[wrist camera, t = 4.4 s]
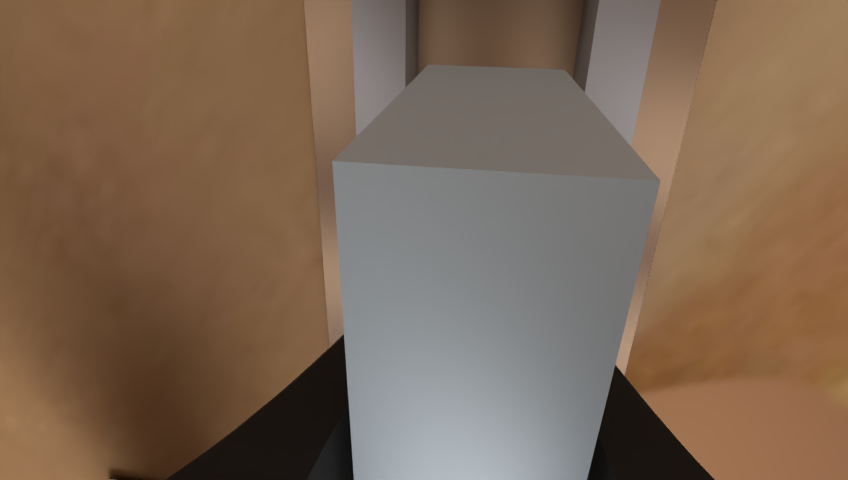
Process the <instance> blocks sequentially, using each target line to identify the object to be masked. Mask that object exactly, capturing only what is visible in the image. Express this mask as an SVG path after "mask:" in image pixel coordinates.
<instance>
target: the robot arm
mask: <svg viewBox="0 0 848 480" xmlns="http://www.w3.org/2000/svg"><path fill="white" fill-rule="evenodd" d="M109 480H115V479H109ZM166 480H354V474H353V459H352V445H351V430H350V415H349V401H348V386H347V371H346V356H345V342H344V334H343V335H342V336H341V337H340V338H339V339H338V340H337V341H336V342H335V343H334V344H333V345H332V346H331V347H330V348H329V349H328V350H327V351H326V352H324V353H323V354H322V355H321V356H320V357H319V358H318V359H317V360H316V361H315V362H314V363H313V364H312V365H310V366H309V367H308V368H307V369H306V370H305V371H304V372H303V373H302V374H300V375H299V376H298V377H297V378H296V379H295V380H294V381H293V382H292V383H290V384H289V385H288V386H287V387H286V388H285V389H284V390H283V391H281V392H280V393H279V394H278V395H277V396H276V397H274V398H273V399H272V400H271V401H269V402H268V403H267V404H266V405H265V406H263V407H262V408H261V409H260V410H258V411H257V412H256V413H255V414H253V415H252V416H251V417H250V418H249V419H247V420H246V421H245V422H244V423H242V424H241V425H240V426H239V427H237V428H236V429H235V430H234V431H232V432H231V433H230V434H229V435H227V436H226V437H225V438H223V439H222V440H221V441H219V442H218V443H217V444H215V445H214V446H213V447H211V448H210V449H209V450H207V451H206V452H205V453H203V454H202V455H200V456H199V457H198V458H196V459H195V460H194V461H192V462H191V463H189V464H188V465H186V466H185V467H184V468H182V469H181V470H179V471H178V472H176V473H175V474H173V475H172V476H171V477H169V478H168V479H166ZM587 480H714V479H713V478H712V477H711V475H709V473H708V472H707V471H706V470H705V469H704V468H703V467H702V466H701V465H700V464H699V463H698V462H697V461H696V460H695V459H694V458H693V456H692V455H691V454H690V453H689V452H688V451H687V450H686V449H685V448H684V446H683V445H682V444H681V443H680V442H679V441H678V440H677V438H676V437H675V436H674V435H673V434H672V432H671V431H670V430H669V429H668V428H667V427H666V425H665V424H664V423H663V422H662V421H661V420H660V418H659V417H658V416H657V415H656V414H655V413H654V412H653V410H652V409H651V408H650V407H649V406H648V404H647V403H646V402H645V401H644V399H643V398H642V397H641V396H640V395H639V393H638V392H637V391H636V390H635V388H634V387H633V386H632V385H631V383H630V382H629V381H628V380H627V378H626V377H625V376H624V375H623V373H622V372H621V371H620V370H619V368H618V367H617V366H616V365H615V368H614V372H613V376H612V380H611V384H610V388H609V392H608V397H607V401H606V405H605V409H604V413H603V417H602V421H601V425H600V429H599V433H598V437H597V441H596V445H595V449H594V453H593V457H592V461H591V466H590V470H589V474H588V478H587Z"/></svg>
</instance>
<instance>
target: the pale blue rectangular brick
mask: <svg viewBox="0 0 848 480" xmlns="http://www.w3.org/2000/svg"><path fill="white" fill-rule="evenodd" d="M332 166H333V180H334V195H335V210H336V224H337V239H338V254H339V268H340V283H341V298H342V312H343V327H344V342H345V356H346V371H347V386H348V401H349V415H350V430H351V445H352V459H353V474H354V480H587V478H588V474H589V470H590V466H591V461H592V457H593V453H594V449H595V445H596V441H597V437H598V433H599V429H600V425H601V421H602V417H603V413H604V409H605V405H606V401H607V397H608V392H609V388H610V384H611V380H612V376H613V372H614V368H615V364H616V360H617V356H618V352H619V348H620V344H621V340H622V336H623V332H624V328H625V324H626V319H627V315H628V311H629V307H630V303H631V299H632V295H633V291H634V287H635V283H636V279H637V275H638V271H639V267H640V263H641V259H642V255H643V250H644V246H645V242H646V238H647V234H648V230H649V226H650V222H651V218H652V214H653V210H654V206H655V202H656V198H657V194H658V190H659V186H660V180H659V178H658V177H657V176H656V175H655V174H654V173H653V171H652V170H651V169H650V168H649V167H648V166H647V165H646V163H645V162H644V161H643V160H642V159H641V158H640V156H639V155H638V154H637V153H636V152H635V151H634V149H633V148H632V147H631V146H630V145H629V144H628V142H627V141H626V140H625V139H624V138H623V137H622V135H621V134H620V133H619V132H618V131H617V130H616V128H615V127H614V126H613V125H612V124H611V123H610V122H609V120H608V119H607V118H606V117H605V116H604V115H603V113H602V112H601V111H600V110H599V109H598V108H597V106H596V105H595V104H594V103H593V102H592V101H591V99H590V98H589V97H588V96H587V95H586V94H585V92H584V91H583V90H582V89H581V88H580V87H579V85H578V84H577V83H576V82H575V81H574V80H573V79H572V77H571V76H570V75H569V74H568V73H567V72H566V70H560V69H533V68H506V67H479V66H451V65H428V66H427V67H426V68H425V69H424V70H423V71H422V72H421V73H420V74H419V75H418V76H417V77H416V78H415V79H414V80H413V81H412V82H411V83H410V84H409V85H408V86H407V87H406V88H405V89H404V90H403V91H402V92H401V93H400V94H399V95H398V96H397V97H396V98H395V99H394V100H393V101H392V102H391V103H390V104H389V105H388V106H387V107H386V108H385V109H384V110H383V111H382V112H381V113H380V114H379V115H378V116H377V117H376V118H375V119H374V120H373V121H372V122H371V123H370V124H369V125H368V126H367V127H366V128H365V129H364V130H363V131H362V132H361V133H360V134H359V135H358V136H357V137H356V138H355V139H354V140H353V141H352V142H351V143H350V144H349V145H348V146H347V147H346V148H345V149H344V150H343V151H342V152H341V153H340V154H339V155H338V156H337V157H336V158H335V159H334V160H333V161H332Z"/></svg>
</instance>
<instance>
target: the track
mask: <svg viewBox="0 0 848 480" xmlns="http://www.w3.org/2000/svg"><path fill="white" fill-rule="evenodd" d="M716 1H717V0H304V10H305V24H306V37H307V51H308V64H309V78H310V91H311V105H312V118H313V132H314V145H315V159H316V172H317V186H318V199H319V213H320V227H321V240H322V254H323V267H324V281H325V294H326V308H327V321H328V335H329V348H330V347H331V346H332V345H333V344H334V343H335V342H336V341H337V340H338V339H339V338H340V337H341V336H342V335H343V334H344V327H343V312H342V298H341V283H340V268H339V254H338V239H337V224H336V210H335V195H334V180H333V166H332V161H333V160H334V159H335V158H336V157H337V156H338V155H339V154H340V153H341V152H342V151H343V150H344V149H345V148H346V147H347V146H348V145H349V144H350V143H351V142H352V141H353V140H354V139H355V138H356V137H357V136H358V135H359V134H360V133H361V132H362V131H363V130H364V129H365V128H366V127H367V126H368V125H369V124H370V123H371V122H372V121H373V120H374V119H375V118H376V117H377V116H378V115H379V114H380V113H381V112H382V111H383V110H384V109H385V108H386V107H387V106H388V105H389V104H390V103H391V102H392V101H393V100H394V99H395V98H396V97H397V96H398V95H399V94H400V93H401V92H402V91H403V90H404V89H405V88H406V87H407V86H408V85H409V84H410V83H411V82H412V81H413V80H414V79H415V78H416V77H417V76H418V75H419V74H420V73H421V72H422V71H423V70H424V69H425V68H426V67H427V66H428V65H451V66H479V67H506V68H533V69H560V70H566V72H567V73H568V74H569V75H570V76H571V77H572V79H573V80H574V81H575V82H576V83H577V84H578V85H579V87H580V88H581V89H582V90H583V91H584V92H585V94H586V95H587V96H588V97H589V98H590V99H591V101H592V102H593V103H594V104H595V105H596V106H597V108H598V109H599V110H600V111H601V112H602V113H603V115H604V116H605V117H606V118H607V119H608V120H609V122H610V123H611V124H612V125H613V126H614V127H615V128H616V130H617V131H618V132H619V133H620V134H621V135H622V137H623V138H624V139H625V140H626V141H627V142H628V144H629V145H630V146H631V147H632V148H633V149H634V151H635V152H636V153H637V154H638V155H639V156H640V158H641V159H642V160H643V161H644V162H645V163H646V165H647V166H648V167H649V168H650V169H651V170H652V171H653V173H654V174H655V175H656V176H657V177H658V178H659V180H660V186H659V190H658V194H657V198H656V202H655V206H654V210H653V214H652V218H651V222H650V226H649V230H648V234H647V238H646V242H645V246H644V250H643V255H642V259H641V263H640V267H639V271H638V275H637V279H636V283H635V287H634V291H633V295H632V299H631V303H630V307H629V311H628V315H627V319H626V324H625V328H624V332H623V336H622V340H621V344H620V348H619V352H618V356H617V360H616V364H615V365H616V366H617V367H618V368H619V370H620V371H621V372H622V373H623V375H625V371H626V367H627V363H628V359H629V354H630V350H631V346H632V342H633V338H634V334H635V330H636V326H637V322H638V318H639V314H640V310H641V306H642V302H643V298H644V294H645V290H646V285H647V281H648V277H649V273H650V269H651V265H652V261H653V257H654V253H655V249H656V245H657V241H658V237H659V233H660V229H661V225H662V221H663V217H664V212H665V208H666V204H667V200H668V196H669V192H670V188H671V184H672V180H673V176H674V172H675V168H676V164H677V160H678V156H679V152H680V148H681V143H682V139H683V135H684V131H685V127H686V123H687V119H688V115H689V111H690V107H691V103H692V99H693V95H694V91H695V87H696V83H697V79H698V75H699V70H700V66H701V62H702V58H703V54H704V50H705V46H706V42H707V38H708V34H709V30H710V26H711V22H712V18H713V14H714V10H715V6H716Z"/></svg>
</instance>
